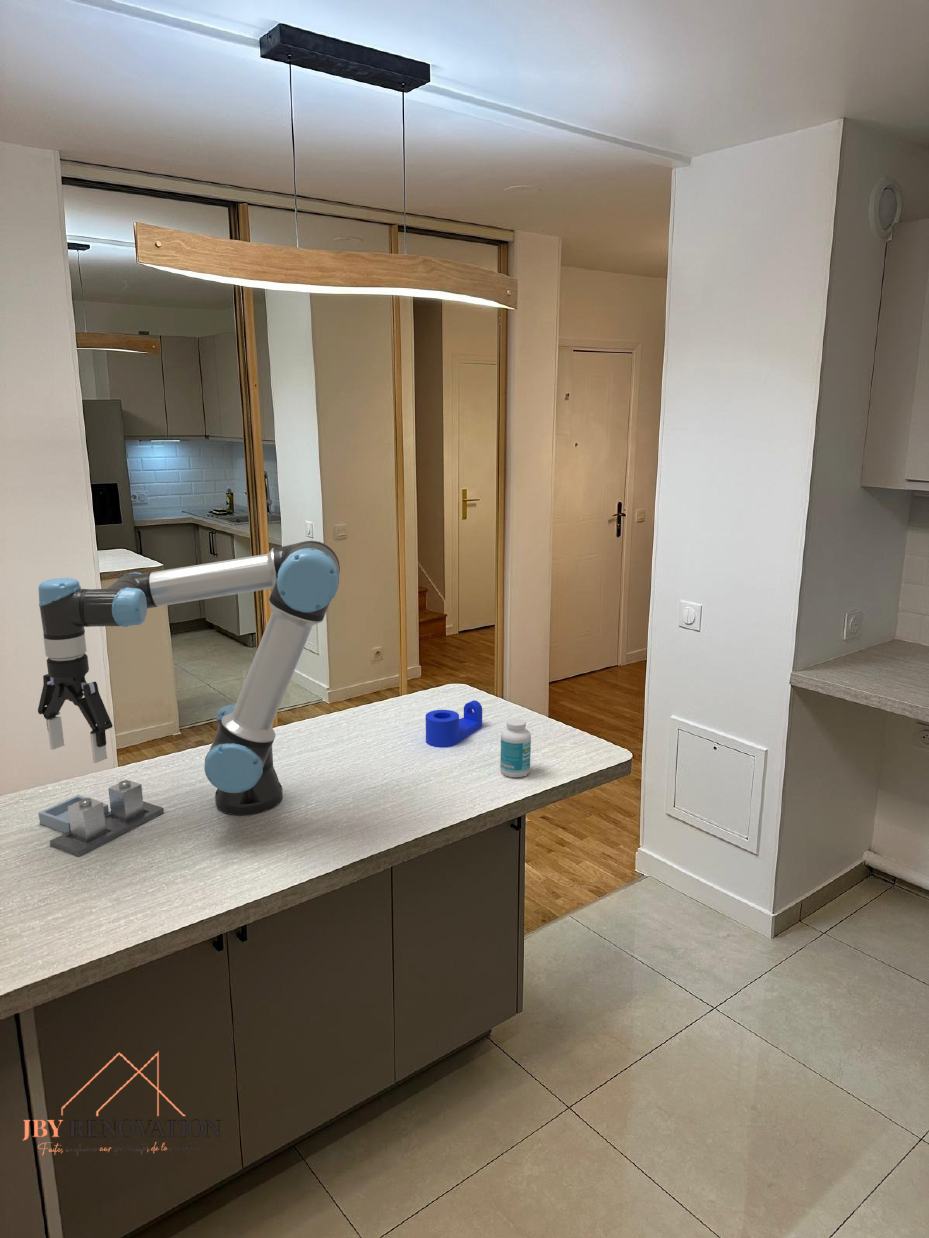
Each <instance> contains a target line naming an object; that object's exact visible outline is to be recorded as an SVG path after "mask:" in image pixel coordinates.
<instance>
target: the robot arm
mask: <svg viewBox="0 0 929 1238" xmlns="http://www.w3.org/2000/svg"><path fill="white" fill-rule="evenodd" d="M340 572H341V566H340V560H339V558H338V556H337V554H336V551H334V550H333V549H332V548H331V547H330V546H329V545H328V544H325V543H323V542H321V541H319V540H318V541H317V540H304V541H300V542H297V543H292V544H288V545H283V546H278V547H277V546H276V547H272V548H271V550H270V551H269V552H268V553H265V554H264V553H263V554H257V555H251V556H245V557H239V558H234V559H227V560H220V561H214V562H208V563H201V564H196V565H190V566H189V565H188V566H183V567H176V568H175V567H174V568H169V569H163V570H157V571H151V572H145V573H142V572H134V571H133V572H130V573H129V572H128V573H126V574H124V575H122V576H120V577H119V578H118V579H117V580H116V581H115V582H114V583H112V584H111V585H109V586H108V587H107V588H94V589H93V588H92V589H89V588H87V589H86V588H82V587H81V585H80V582H79V580H78V579H77V578H74V577H73V578H72V577H71V578H69V577H58V578H51V579H46V580H43V581H42V582H41V583H40V584H39V585H38V602H39V604H38V607H39V611H40V619H41V625H42V633H43V634H42V635H43V644H44V652H45V656H46V658H47V659H46V666H47V673H46V674H43V676H42V677H43V678H42V679H43V680H42V681H43V684H42V685H43V686H42V689H41V690H42V691H41V693H40V694H41V695H40V699H39V702H38V707H37V713H38V714H39V715H43V718H44V719H45V720H46V727H47V732H48V738H49V747H50V750H56V749H59V748H61V747H63V746H65V739H64V733H63V723H62V716H61V712H60V711H61V709H62V707H63V705H64V704H65V702H66V701H69V702H72V704H73V705H74V706H77V707H78V708H79V711H80V712H81V713H82V716H83V717H84V718H85V720H86V722H87V724H88V726H89V727H90V729H91V731H90V732H89V735H90V737H89V738H90V745H91V753H92V760H93V761H92V762H93V763H95V764H98V763H100V762H103V761H104V760H106V759H108V753H107V736H106V731H107V730H110V729H112V728H113V723H112V721H111V718H110V716H109V713H108V711H107V709H106V706H105V704H104V702H103V699H102V697H101V695H100V691H99V686H98V682H97V681H91V682H87V680H86V674H88V672H90V668H89V667H90V666H89V658H88V656H89V655H88V654H87V651H88V650H87V642H86V635H85V633H86V630H85V628H87V627H89V628H91V627H124V628H126V627H129V626H139V625H142V624H143V623H144V622H145V620H146V617H147V614H148V613H147V612H148V609H152V608H157V607H163V606H165V607H166V606H169V605H175V604H182V603H187V602H188V603H190V602H195V601H201V600H208V599H214V598H219V597H225V596H226V597H227V596H233V595H238V594H239V595H240V594H245V593H251V592H258V591H265V590H270V589H272V590H271V593H270V596H269V598H268V603H269V605H270V608H271V610H272V611H271V615H270V617H269V620H268V621H267V624H266V626H265V628H264V632H263V634H262V637H261V639H260V642H259V644H258V648H257V649H256V652H255V655H254V657H253V658H252V662H251V665H250V667H249V670H248V673H247V675H246V677H245V680H244V683H243V685H242V687H241V690H240V692H239V695H238V697H237V699H236V702H235V704H234V703H233V704H229V705H225V706H223V707H221V708H219V709H218V710H217V713H216V714H217V715H216V716H217V717H216V723H217V731H216V733H215V735H214V738H213V740H212V743H211V746H210V748H209V750H208V752H207V753H206V755H205V758H204V764H203V765H204V773H205V777H206V778H207V780H208V781H209V783H210V784H211V785H212V786H213V787H215V788H216V790H215V793H214V798H215V799H214V800H215V806H216V808H217V809H218V810H219V811H220V812H222V813H225V814H229V815H232V816H235V815H236V816H249V815H255V814H260V813H265V812H266V811H269V810H272V809H273V808H275V807H277V806H278V805H280V804H281V803H282V800H283V797H284V796H283V795H284V794H283V786H282V784H281V782H280V780H279V777H278V775H277V772H276V770H275V767H274V757H273V756H274V755H273V744H274V741H275V739H276V732H275V730H274V728H273V725H274V722H275V719H276V716H277V715H278V711H279V709H280V707H281V704H282V702H283V701H284V697H285V695H286V692H287V690H288V687H289V685H290V683H291V680H292V678H293V675H294V672H295V670H296V668H297V665H298V663H299V660H300V657H301V656H302V653H303V650H304V648H305V646H306V643H307V641H308V638H309V635H310V633H311V630H312V628H313V627H314V626H315V625H318V624H320V623H322V622H323V621H324V618H325V616H326V613H327V612H328V609H329V607H330V604H331V602H332V601H333V599H334V598H335V596H336V594H337V592H338V589H339V584H340Z"/></svg>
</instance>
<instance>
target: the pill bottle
mask: <svg viewBox="0 0 929 1238" xmlns="http://www.w3.org/2000/svg"><path fill="white" fill-rule="evenodd" d="M526 725H527V723H526V721H525V720H524V719H520V718H511V719H508V720H507V721H506V728H504V729H503V730H502V731H501V732H500V733H501V734H500V765H499V767H500V769H499V770H500V773H501V775H503V774H504V775H503V776H505V777H507V776H509V777H508V778H512V777H521V776H525V775H527V774H528V773H529V774H530V773H531V772H530V771H531V750H532V749H531V748H532V745H531V743H532V734H531V732H530V731H529V729H527V728H526ZM529 774H528V775H529ZM528 775H527V776H528ZM525 777H526V776H525ZM521 778H522V777H521Z"/></svg>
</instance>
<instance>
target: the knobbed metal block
mask: <svg viewBox="0 0 929 1238" xmlns="http://www.w3.org/2000/svg"><path fill="white" fill-rule="evenodd" d="M103 803H104V802H103V801H100V800H97V799H94V798H91V797H87V798H85V799H81V800H80V801H78V802H76V803H74V804H72V805H70V806H68V812H69V820H70V828H71V836H72V839H74V840H76V841H79V842H82V843H84V844H87V843H89V842H91V841H93V840H95V839H97V838H99V837H101V836H103V835H105V834H106V825H105V817H104V808H103Z"/></svg>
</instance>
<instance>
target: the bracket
mask: <svg viewBox="0 0 929 1238" xmlns="http://www.w3.org/2000/svg"><path fill="white" fill-rule="evenodd" d="M459 714H460V713H458V712H457V711H454V710H451V709H437V710H431V711H429V712H427V713H426V714H425V743H426V744H427V745H428V746H429V747H433V748H439V749H440V748H441V749H443V748H451V747H455V746H456V745H458V744H459V743H461V742H462V741H464V740H466V739H467V738H469V737H470V736H471V735H473V734H474V733H476V732H477V731H479V730H480V729H481V728H483V706H482V704H481V703H480V702H479V700H471V701H468V702H467V703H465V704H464V706H463V717H461V718H460V715H459Z"/></svg>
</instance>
